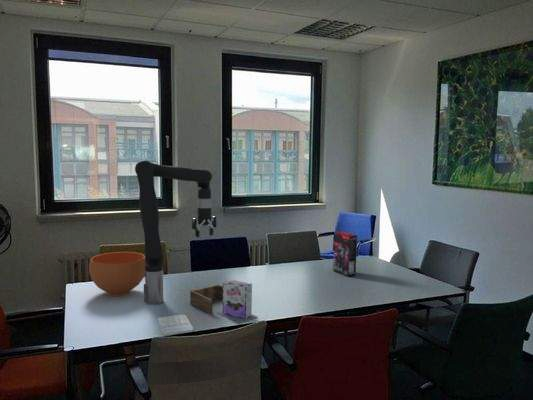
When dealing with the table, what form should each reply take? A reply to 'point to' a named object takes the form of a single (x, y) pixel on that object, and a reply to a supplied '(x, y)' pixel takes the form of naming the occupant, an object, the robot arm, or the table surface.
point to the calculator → (175, 324)
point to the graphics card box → (345, 253)
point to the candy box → (237, 298)
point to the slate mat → (237, 318)
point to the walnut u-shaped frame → (206, 297)
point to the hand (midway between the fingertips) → (204, 236)
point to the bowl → (117, 272)
